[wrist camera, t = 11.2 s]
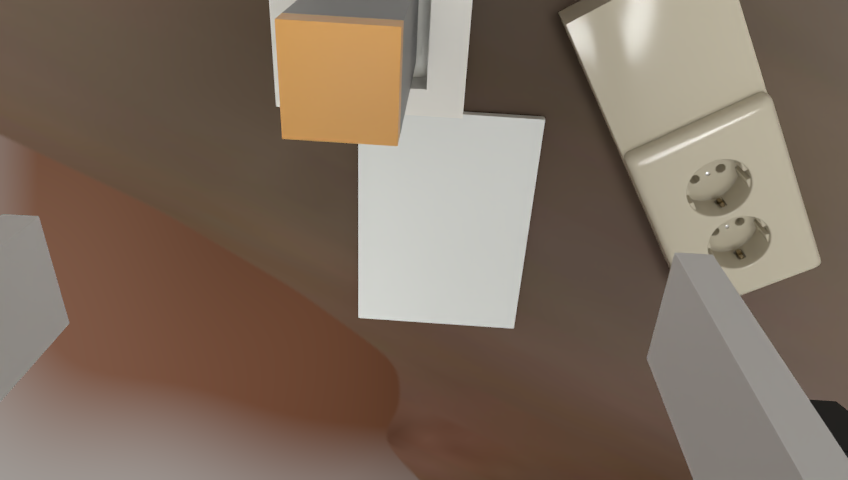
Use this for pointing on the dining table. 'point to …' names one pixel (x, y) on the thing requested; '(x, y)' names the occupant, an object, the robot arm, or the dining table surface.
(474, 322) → the tray
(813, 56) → the dining table surface
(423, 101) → the socket strip
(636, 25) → the electrical outlet
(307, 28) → the plug
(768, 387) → the robot arm
